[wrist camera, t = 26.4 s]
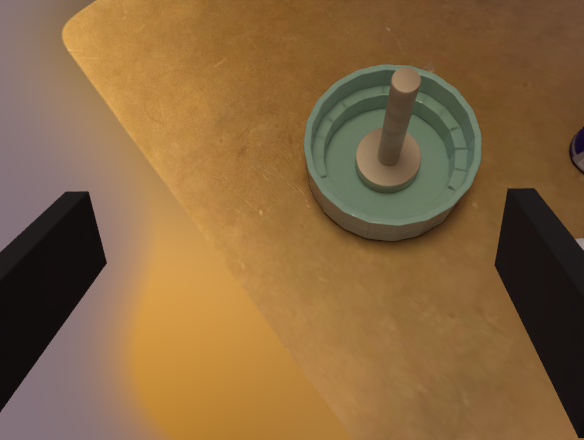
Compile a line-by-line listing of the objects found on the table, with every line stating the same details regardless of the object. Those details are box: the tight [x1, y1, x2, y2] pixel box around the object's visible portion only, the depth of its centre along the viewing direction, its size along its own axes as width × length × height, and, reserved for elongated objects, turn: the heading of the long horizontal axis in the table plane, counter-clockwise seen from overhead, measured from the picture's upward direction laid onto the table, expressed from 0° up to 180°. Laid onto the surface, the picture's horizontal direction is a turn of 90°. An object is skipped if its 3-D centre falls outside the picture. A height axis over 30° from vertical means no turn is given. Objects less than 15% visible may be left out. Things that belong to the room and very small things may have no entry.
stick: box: [355, 67, 421, 193], centre depth 42 cm, size 6×6×15 cm
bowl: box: [303, 64, 482, 241], centre depth 47 cm, size 15×15×6 cm
